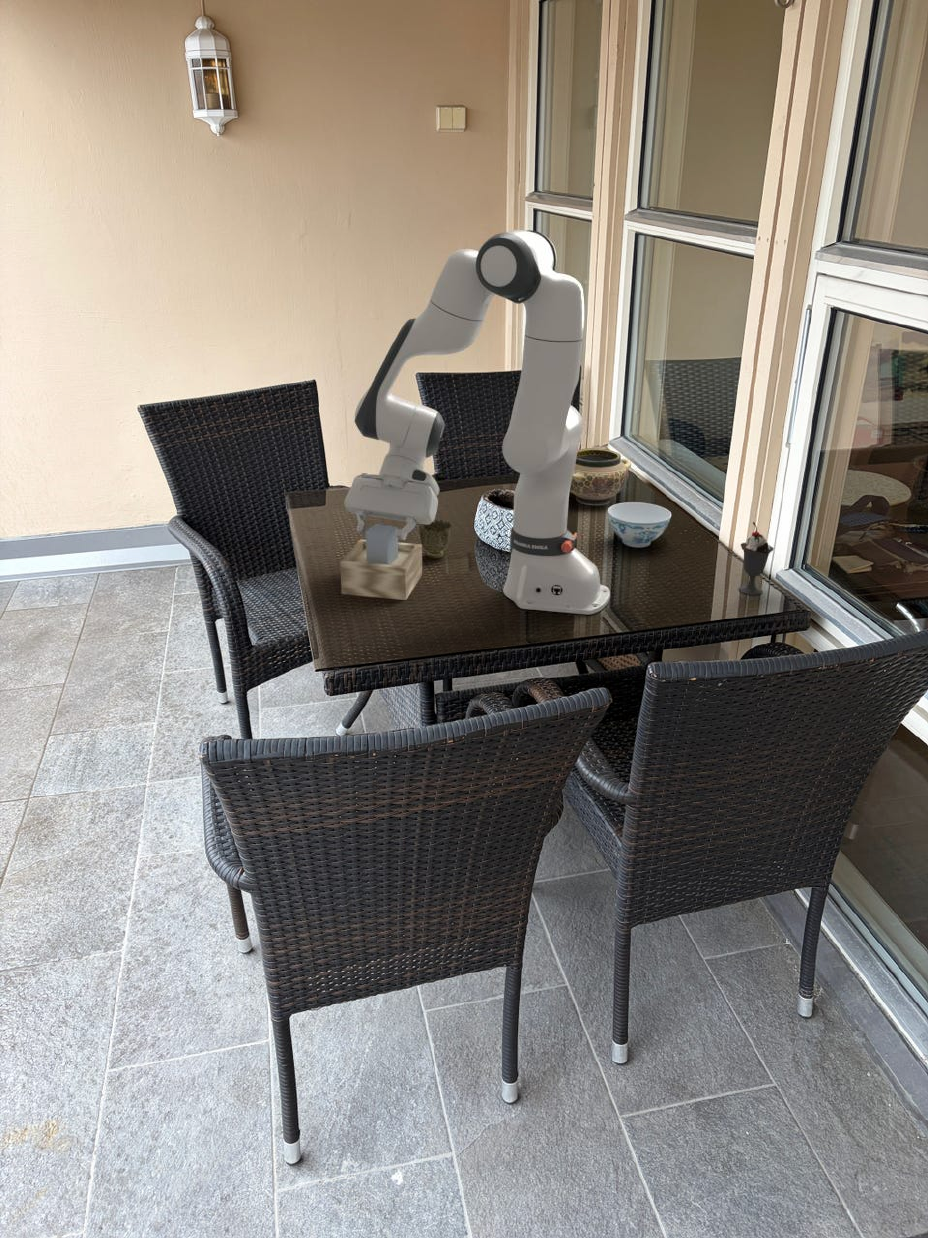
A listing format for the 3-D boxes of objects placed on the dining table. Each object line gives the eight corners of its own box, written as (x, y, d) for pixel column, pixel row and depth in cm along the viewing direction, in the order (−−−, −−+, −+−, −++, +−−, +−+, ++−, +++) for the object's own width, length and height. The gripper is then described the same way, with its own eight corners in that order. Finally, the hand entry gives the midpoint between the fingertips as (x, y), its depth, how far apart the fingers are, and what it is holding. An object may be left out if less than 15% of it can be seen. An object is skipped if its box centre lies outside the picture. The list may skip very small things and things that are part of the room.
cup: (447, 563, 212) (447, 530, 209) (415, 561, 213) (415, 528, 210) (454, 552, 219) (454, 519, 215) (423, 549, 220) (423, 517, 217)
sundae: (738, 582, 204) (747, 517, 198) (769, 588, 201) (780, 522, 195) (730, 593, 199) (740, 526, 192) (762, 599, 196) (773, 532, 190)
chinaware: (602, 550, 221) (604, 519, 217) (608, 529, 234) (610, 499, 231) (666, 556, 218) (669, 525, 214) (669, 534, 231) (672, 505, 227)
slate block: (398, 557, 200) (397, 527, 197) (387, 565, 196) (386, 534, 193) (377, 554, 202) (376, 523, 199) (366, 562, 198) (365, 531, 195)
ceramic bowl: (611, 496, 266) (607, 443, 263) (654, 497, 251) (649, 441, 248) (542, 510, 255) (536, 455, 251) (582, 513, 240) (576, 454, 236)
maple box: (422, 576, 207) (421, 544, 203) (405, 601, 194) (405, 568, 191) (361, 570, 209) (360, 539, 206) (341, 595, 197) (340, 562, 194)
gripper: (351, 464, 201) (331, 522, 197) (438, 476, 194) (419, 535, 190) (361, 479, 206) (342, 535, 202) (446, 490, 199) (428, 548, 195)
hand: (380, 535), depth 196 cm, fingers open, 8 cm apart
